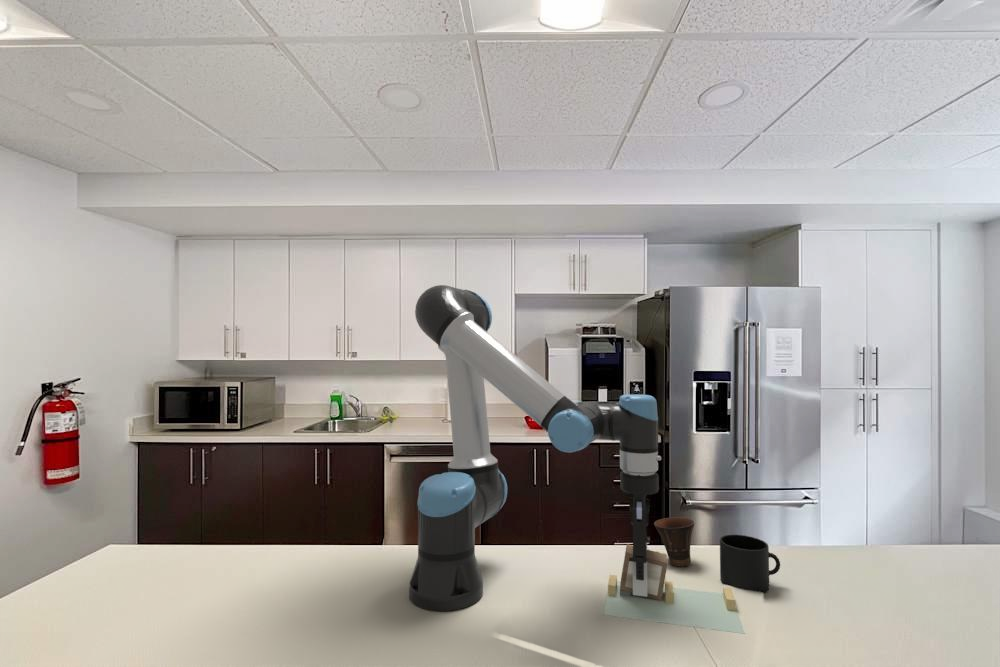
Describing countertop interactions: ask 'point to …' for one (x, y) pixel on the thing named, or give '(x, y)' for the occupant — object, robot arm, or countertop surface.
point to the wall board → (676, 607)
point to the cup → (676, 538)
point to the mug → (746, 563)
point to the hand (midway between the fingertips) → (640, 584)
